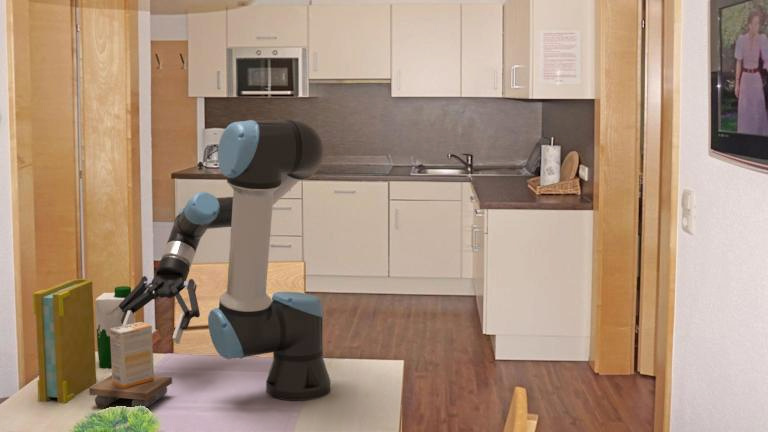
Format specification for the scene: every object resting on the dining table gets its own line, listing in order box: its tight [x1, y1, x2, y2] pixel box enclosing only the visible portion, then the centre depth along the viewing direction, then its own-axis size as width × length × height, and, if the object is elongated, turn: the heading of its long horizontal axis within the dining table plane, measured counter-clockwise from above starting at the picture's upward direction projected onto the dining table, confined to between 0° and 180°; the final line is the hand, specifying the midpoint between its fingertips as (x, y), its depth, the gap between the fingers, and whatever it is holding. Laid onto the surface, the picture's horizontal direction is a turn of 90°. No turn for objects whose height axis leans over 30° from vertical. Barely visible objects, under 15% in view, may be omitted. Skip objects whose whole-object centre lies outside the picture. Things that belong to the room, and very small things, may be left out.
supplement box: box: [110, 321, 155, 389], centre depth 209 cm, size 8×5×13 cm, turn 138°
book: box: [32, 278, 97, 404], centre depth 216 cm, size 17×7×25 cm, turn 168°
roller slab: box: [88, 374, 173, 409], centre depth 210 cm, size 14×12×4 cm
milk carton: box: [94, 285, 135, 369], centre depth 237 cm, size 9×9×20 cm
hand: (148, 339), depth 218 cm, fingers open, 13 cm apart
